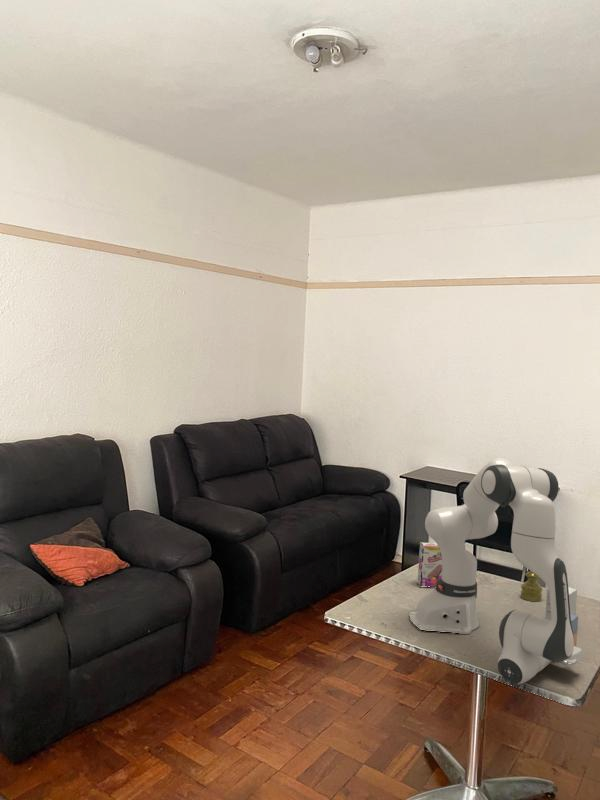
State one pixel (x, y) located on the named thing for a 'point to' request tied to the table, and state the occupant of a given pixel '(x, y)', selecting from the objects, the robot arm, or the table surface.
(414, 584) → the table surface
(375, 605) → the table surface
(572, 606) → the supplement box
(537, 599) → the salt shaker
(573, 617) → the slate block
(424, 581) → the candy bar box
